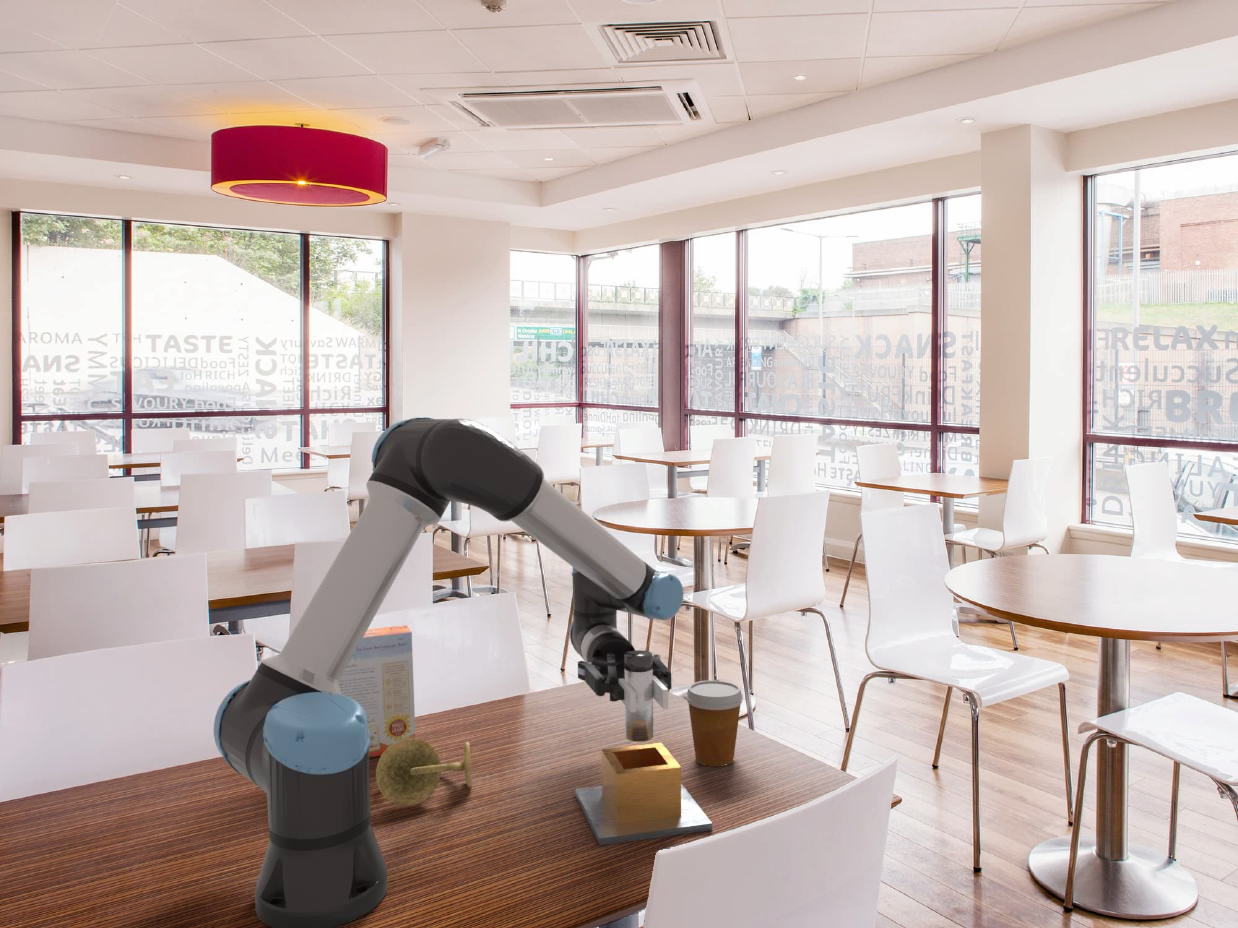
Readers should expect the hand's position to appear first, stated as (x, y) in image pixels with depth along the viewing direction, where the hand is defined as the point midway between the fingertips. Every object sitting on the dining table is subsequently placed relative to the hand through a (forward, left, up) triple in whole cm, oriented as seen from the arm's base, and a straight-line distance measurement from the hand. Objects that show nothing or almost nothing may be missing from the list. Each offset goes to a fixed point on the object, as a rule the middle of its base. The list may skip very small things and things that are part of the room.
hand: (649, 700), depth 123 cm
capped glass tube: (0, +5, -7) cm, 9 cm away
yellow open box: (0, +5, -18) cm, 19 cm away
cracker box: (-38, +39, -18) cm, 58 cm away
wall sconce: (-29, +28, -18) cm, 44 cm away
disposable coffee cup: (+17, +20, -18) cm, 32 cm away
